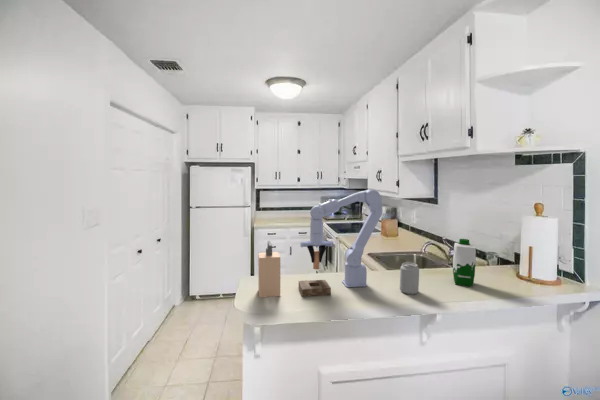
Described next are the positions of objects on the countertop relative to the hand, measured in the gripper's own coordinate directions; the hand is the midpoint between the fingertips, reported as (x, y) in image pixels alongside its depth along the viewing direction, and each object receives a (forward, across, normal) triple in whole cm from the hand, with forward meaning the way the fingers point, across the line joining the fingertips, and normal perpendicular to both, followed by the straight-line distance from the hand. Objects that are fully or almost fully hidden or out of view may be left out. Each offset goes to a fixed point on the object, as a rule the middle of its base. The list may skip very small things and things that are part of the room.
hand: (316, 262), depth 136 cm
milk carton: (+10, -67, +9) cm, 69 cm away
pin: (+3, 0, 0) cm, 3 cm away
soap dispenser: (+10, +22, +11) cm, 26 cm away
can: (+10, -37, +15) cm, 42 cm away
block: (+10, +3, +9) cm, 14 cm away
